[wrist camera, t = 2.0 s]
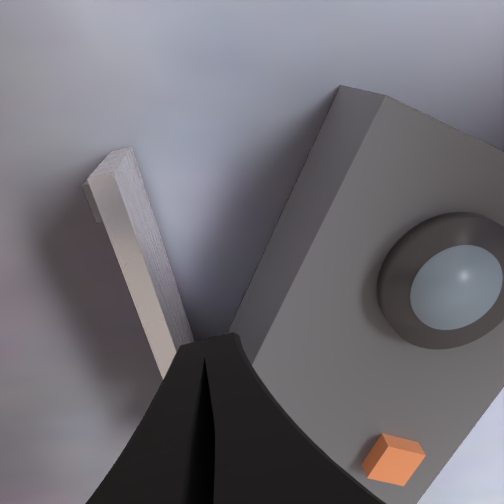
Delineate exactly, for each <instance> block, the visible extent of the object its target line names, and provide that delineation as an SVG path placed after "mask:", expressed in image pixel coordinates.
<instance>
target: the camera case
mask: <svg viewBox="0 0 504 504" xmlns="http://www.w3.org/2000/svg"><path fill="white" fill-rule="evenodd" d="M232 332H234V333H236V334H238V335H239V336H240V339H241V343H242V347H243V349H244V352H245V354H246V356H247V358H248V359H249V361H250V363H251V365H252V366H253V368H254V370H255V371H256V373H257V374H258V376H259V377H260V379H261V380H262V382H263V383H264V384H265V386H266V387H267V389H268V390H269V391H270V393H271V394H272V395H273V397H274V398H275V399H276V401H277V402H278V403H279V404H280V405H281V407H282V408H283V409H284V410H285V412H286V413H287V414H288V415H289V416H290V417H291V418H292V420H293V421H294V422H295V423H296V424H297V425H298V426H299V427H300V428H301V429H302V430H303V432H304V433H305V434H306V435H307V436H308V437H309V438H310V439H311V440H312V441H313V442H314V443H315V444H316V445H317V446H318V447H319V448H321V449H322V450H323V451H324V452H325V453H326V454H327V455H328V456H329V457H330V458H331V459H332V460H333V461H334V462H336V463H337V464H338V465H339V466H340V467H342V468H343V469H344V470H345V471H346V472H348V473H349V474H350V475H351V476H352V477H354V478H355V479H356V480H357V481H358V482H360V483H361V484H362V485H363V486H364V487H366V488H367V489H368V490H369V491H370V492H372V493H373V494H374V495H375V496H377V497H378V498H379V499H381V500H382V501H384V502H385V503H386V504H417V502H418V501H419V500H420V498H421V497H422V496H423V494H424V493H425V492H426V490H427V489H428V488H429V486H430V485H431V484H432V482H433V481H434V480H435V478H436V477H437V476H438V474H439V473H440V471H441V470H442V469H443V467H444V466H445V465H446V463H447V462H448V461H449V459H450V458H451V457H452V455H453V454H454V453H455V451H456V450H457V449H458V447H459V446H460V445H461V443H462V442H463V441H464V439H465V438H466V437H467V435H468V434H469V433H470V431H471V430H472V429H473V427H474V426H475V425H476V423H477V422H478V421H479V419H480V418H481V416H482V415H483V414H484V412H485V411H486V410H487V408H488V407H489V406H490V404H491V403H492V402H493V400H494V399H495V398H496V396H497V395H498V394H499V392H500V391H501V390H502V388H503V387H504V151H502V150H500V149H497V148H495V147H493V146H491V145H489V144H487V143H485V142H483V141H481V140H479V139H477V138H474V137H472V136H470V135H468V134H466V133H464V132H462V131H460V130H458V129H456V128H453V127H451V126H449V125H447V124H445V123H443V122H441V121H439V120H437V119H435V118H432V117H430V116H428V115H426V114H424V113H422V112H420V111H418V110H416V109H414V108H411V107H409V106H407V105H405V104H403V103H401V102H399V101H397V100H395V99H393V98H390V97H388V96H386V95H382V94H378V93H373V92H369V91H364V90H359V89H355V88H350V87H346V86H341V85H340V87H339V89H338V92H337V94H336V96H335V98H334V100H333V103H332V105H331V107H330V109H329V111H328V113H327V116H326V118H325V120H324V122H323V124H322V127H321V129H320V131H319V133H318V135H317V137H316V140H315V142H314V144H313V146H312V148H311V151H310V153H309V155H308V157H307V159H306V161H305V164H304V166H303V168H302V170H301V172H300V175H299V177H298V179H297V181H296V183H295V186H294V188H293V190H292V192H291V194H290V196H289V199H288V201H287V203H286V205H285V207H284V210H283V212H282V214H281V216H280V218H279V220H278V223H277V225H276V227H275V229H274V231H273V234H272V236H271V238H270V240H269V242H268V244H267V247H266V249H265V251H264V253H263V255H262V258H261V260H260V262H259V264H258V266H257V268H256V271H255V273H254V275H253V277H252V279H251V282H250V284H249V286H248V288H247V290H246V292H245V295H244V297H243V299H242V301H241V303H240V306H239V308H238V310H237V312H236V314H235V317H234V319H233V321H232V323H231V325H230V327H229V330H228V332H227V334H228V333H232Z"/></svg>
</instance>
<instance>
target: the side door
mask: <svg viewBox="0 0 504 504" xmlns="http://www.w3.org/2000/svg"><path fill="white" fill-rule="evenodd" d="M82 188H83V191H84V193H85V196H86V198H87V201H88V204H89V206H90V209H91V211H92V214H93V217H94V219H95V222H96V223H100V222H104V225H105V228H106V230H107V233H108V236H109V238H110V241H111V244H112V246H113V249H114V252H115V254H116V257H117V260H118V262H119V265H120V267H121V270H122V273H123V275H124V278H125V281H126V283H127V286H128V289H129V291H130V294H131V297H132V299H133V302H134V305H135V307H136V310H137V312H138V315H139V318H140V320H141V323H142V326H143V328H144V331H145V334H146V336H147V339H148V342H149V344H150V347H151V350H152V352H153V355H154V357H155V360H156V363H157V365H158V368H159V371H160V373H161V376H162V379H164V377H165V375H166V373H167V371H168V369H169V367H170V365H171V363H172V360H173V358H174V356H175V354H176V352H177V350H178V348H179V347H180V345H184V344H188V343H192V342H195V340H194V337H193V334H192V331H191V328H190V325H189V322H188V319H187V316H186V313H185V309H184V306H183V303H182V300H181V297H180V294H179V291H178V288H177V285H176V282H175V279H174V276H173V273H172V269H171V266H170V263H169V260H168V257H167V254H166V251H165V248H164V245H163V242H162V239H161V236H160V233H159V229H158V226H157V223H156V220H155V217H154V214H153V211H152V208H151V205H150V202H149V199H148V196H147V192H146V189H145V186H144V183H143V180H142V177H141V174H140V171H139V168H138V165H137V162H136V159H135V156H134V152H133V149H132V146H131V147H127V148H123V149H119V150H115V151H111V152H110V153H109V154H108V155H107V156H106V158H105V159H104V160H103V161H102V162H101V163H100V164H99V166H98V167H97V168H96V169H95V170H94V171H93V172H92V174H91V175H90V176H89V177H88V178H87V180H86V181H85V182H84V183H83V184H82Z"/></svg>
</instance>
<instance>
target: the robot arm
mask: <svg viewBox="0 0 504 504" xmlns="http://www.w3.org/2000/svg"><path fill="white" fill-rule="evenodd" d="M86 504H386V503H385V502H384V501H382V500H381V499H379V498H378V497H377V496H375V495H374V494H373V493H372V492H370V491H369V490H368V489H367V488H366V487H364V486H363V485H362V484H361V483H360V482H358V481H357V480H356V479H355V478H354V477H352V476H351V475H350V474H349V473H348V472H346V471H345V470H344V469H343V468H342V467H340V466H339V465H338V464H337V463H336V462H334V461H333V460H332V459H331V458H330V457H329V456H328V455H327V454H326V453H325V452H324V451H323V450H322V449H321V448H319V447H318V446H317V445H316V444H315V443H314V442H313V441H312V440H311V439H310V438H309V437H308V436H307V435H306V434H305V433H304V432H303V430H302V429H301V428H300V427H299V426H298V425H297V424H296V423H295V422H294V421H293V420H292V418H291V417H290V416H289V415H288V414H287V413H286V412H285V410H284V409H283V408H282V407H281V405H280V404H279V403H278V402H277V401H276V399H275V398H274V397H273V395H272V394H271V393H270V391H269V390H268V389H267V387H266V386H265V384H264V383H263V382H262V380H261V379H260V377H259V376H258V374H257V373H256V371H255V370H254V368H253V366H252V365H251V363H250V361H249V359H248V358H247V356H246V354H245V352H244V349H243V347H242V343H241V339H240V336H239V335H238V334H236V333H234V332H232V333H228V334H224V335H220V336H216V337H212V338H208V339H204V340H200V341H196V342H192V343H188V344H184V345H180V347H179V348H178V350H177V352H176V354H175V356H174V358H173V360H172V363H171V365H170V367H169V369H168V371H167V373H166V375H165V377H164V379H163V381H162V383H161V385H160V387H159V389H158V391H157V393H156V395H155V397H154V398H153V400H152V402H151V404H150V406H149V408H148V410H147V411H146V413H145V415H144V417H143V419H142V420H141V422H140V424H139V425H138V427H137V429H136V430H135V432H134V434H133V435H132V437H131V439H130V440H129V442H128V443H127V445H126V447H125V448H124V450H123V452H122V453H121V455H120V456H119V458H118V459H117V461H116V462H115V464H114V465H113V467H112V468H111V470H110V471H109V472H108V474H107V475H106V477H105V478H104V480H103V481H102V482H101V484H100V485H99V486H98V488H97V489H96V491H95V492H94V493H93V495H92V496H91V497H90V499H89V500H88V501H87V502H86Z"/></svg>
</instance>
